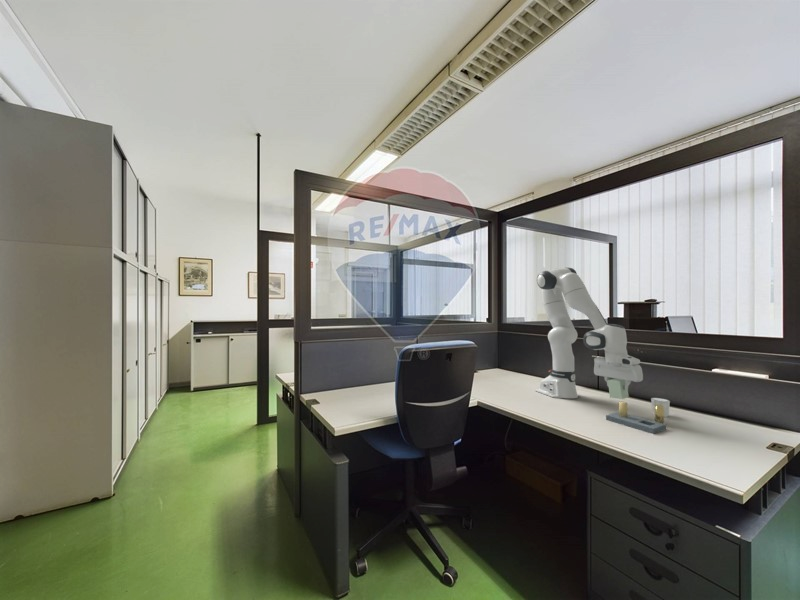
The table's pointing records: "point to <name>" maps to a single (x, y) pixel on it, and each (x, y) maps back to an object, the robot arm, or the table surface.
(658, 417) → the pin
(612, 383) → the block
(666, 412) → the shot glass
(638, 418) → the pin board
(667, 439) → the table surface
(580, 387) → the table surface
